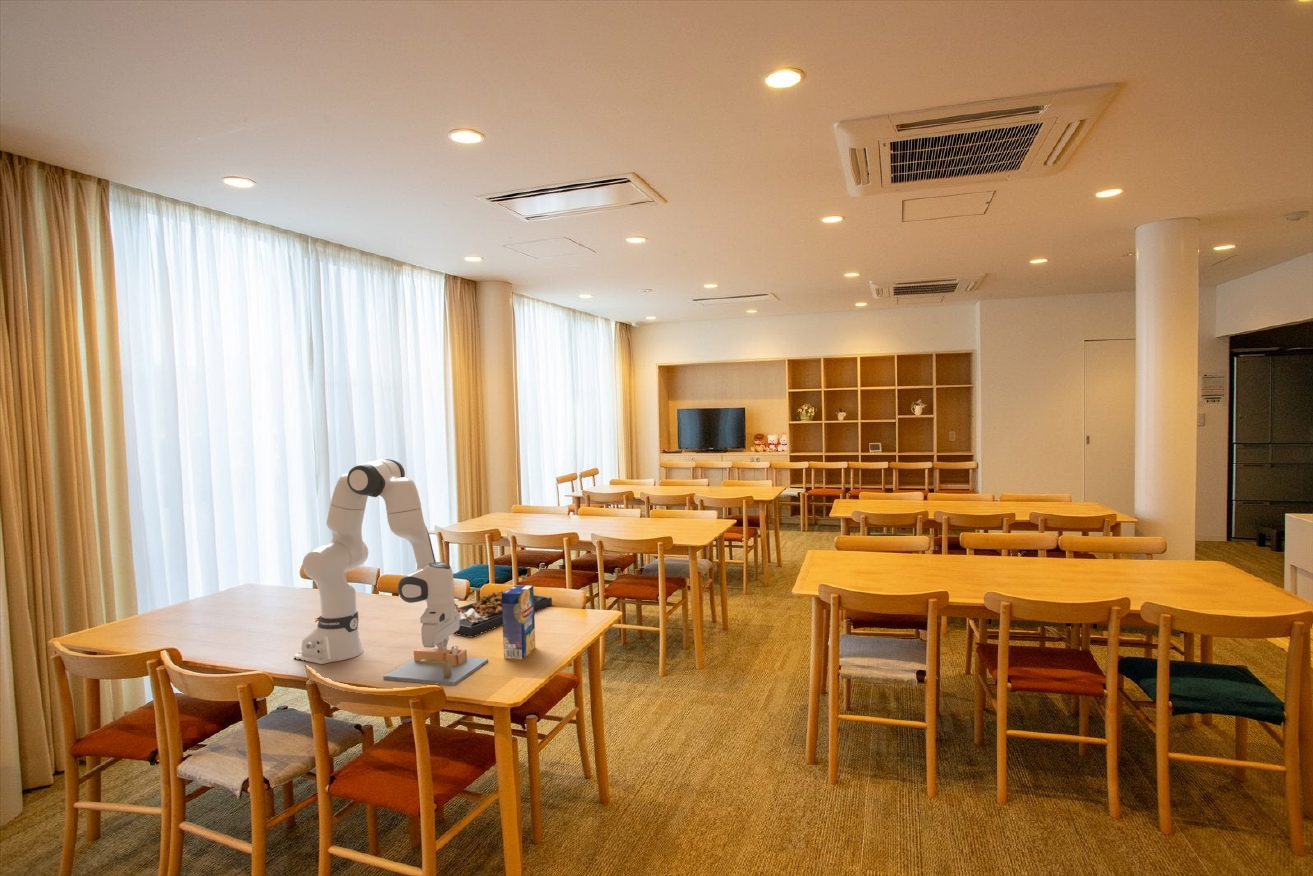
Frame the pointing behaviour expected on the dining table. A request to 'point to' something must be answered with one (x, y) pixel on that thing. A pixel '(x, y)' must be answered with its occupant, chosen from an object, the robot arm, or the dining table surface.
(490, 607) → the food platter
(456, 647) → the peg
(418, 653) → the link
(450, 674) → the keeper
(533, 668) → the dining table surface
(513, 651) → the beverage box
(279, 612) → the dining table surface
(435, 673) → the board
